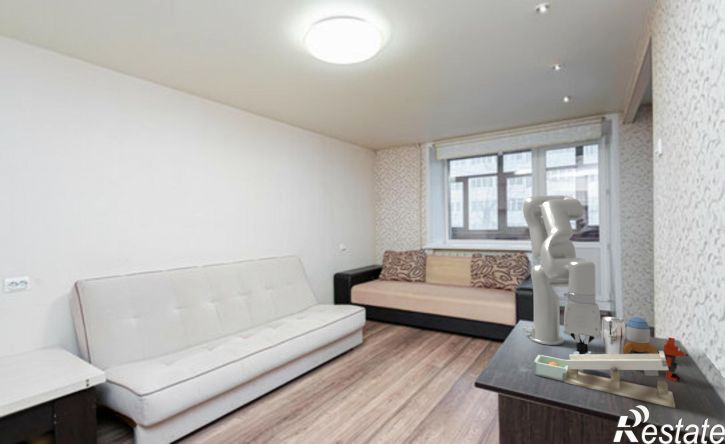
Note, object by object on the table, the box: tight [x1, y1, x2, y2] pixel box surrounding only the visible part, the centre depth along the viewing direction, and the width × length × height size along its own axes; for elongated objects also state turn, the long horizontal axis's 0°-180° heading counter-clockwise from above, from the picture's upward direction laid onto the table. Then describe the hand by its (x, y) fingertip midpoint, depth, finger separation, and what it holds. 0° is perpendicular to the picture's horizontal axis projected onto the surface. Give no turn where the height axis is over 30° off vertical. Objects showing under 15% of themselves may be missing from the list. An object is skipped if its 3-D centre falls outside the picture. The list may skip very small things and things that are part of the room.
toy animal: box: [663, 336, 689, 382], centre depth 111 cm, size 8×6×12 cm
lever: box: [566, 350, 669, 377], centre depth 109 cm, size 24×14×5 cm, turn 54°
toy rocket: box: [623, 316, 659, 354], centre depth 129 cm, size 10×11×15 cm
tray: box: [533, 354, 569, 382], centre depth 116 cm, size 9×8×4 cm
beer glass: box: [601, 316, 627, 354], centre depth 125 cm, size 7×7×15 cm
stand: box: [562, 367, 676, 409], centre depth 106 cm, size 26×10×8 cm, turn 53°
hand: (582, 354), depth 117 cm, fingers closed
